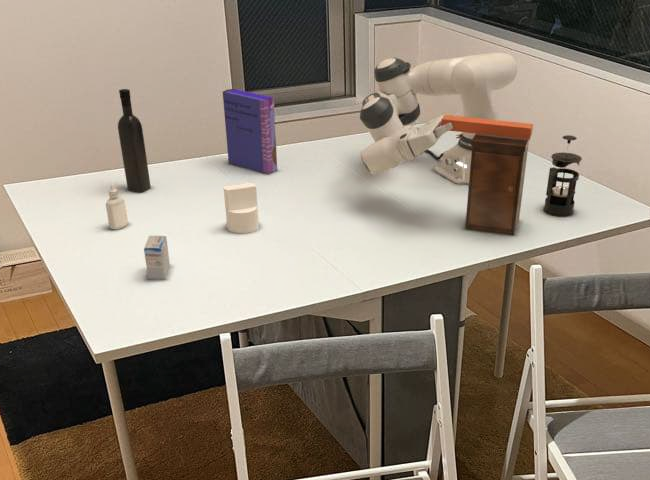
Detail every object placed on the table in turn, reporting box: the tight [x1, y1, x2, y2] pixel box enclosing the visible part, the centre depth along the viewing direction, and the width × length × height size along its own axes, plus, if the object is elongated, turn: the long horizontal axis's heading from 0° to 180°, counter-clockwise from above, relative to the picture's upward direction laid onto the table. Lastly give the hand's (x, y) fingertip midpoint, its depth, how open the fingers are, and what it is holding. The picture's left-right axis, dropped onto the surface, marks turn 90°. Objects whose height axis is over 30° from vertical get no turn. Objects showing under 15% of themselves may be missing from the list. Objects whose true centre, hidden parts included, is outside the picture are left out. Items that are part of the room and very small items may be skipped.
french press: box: [542, 134, 583, 218], centre depth 248 cm, size 12×9×23 cm
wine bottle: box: [117, 88, 152, 193], centre depth 250 cm, size 6×6×30 cm
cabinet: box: [464, 134, 531, 236], centre depth 236 cm, size 15×13×26 cm
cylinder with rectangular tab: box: [223, 182, 260, 234], centre depth 233 cm, size 9×9×12 cm
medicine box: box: [143, 235, 171, 280], centre depth 208 cm, size 8×4×9 cm, turn 5°
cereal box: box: [222, 88, 278, 175], centre depth 272 cm, size 17×5×24 cm, turn 58°
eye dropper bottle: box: [105, 184, 129, 231], centre depth 231 cm, size 4×6×12 cm
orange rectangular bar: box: [441, 114, 534, 140], centre depth 228 cm, size 25×4×3 cm, turn 75°
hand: (454, 121), depth 230 cm, fingers closed on orange rectangular bar, 4 cm apart
